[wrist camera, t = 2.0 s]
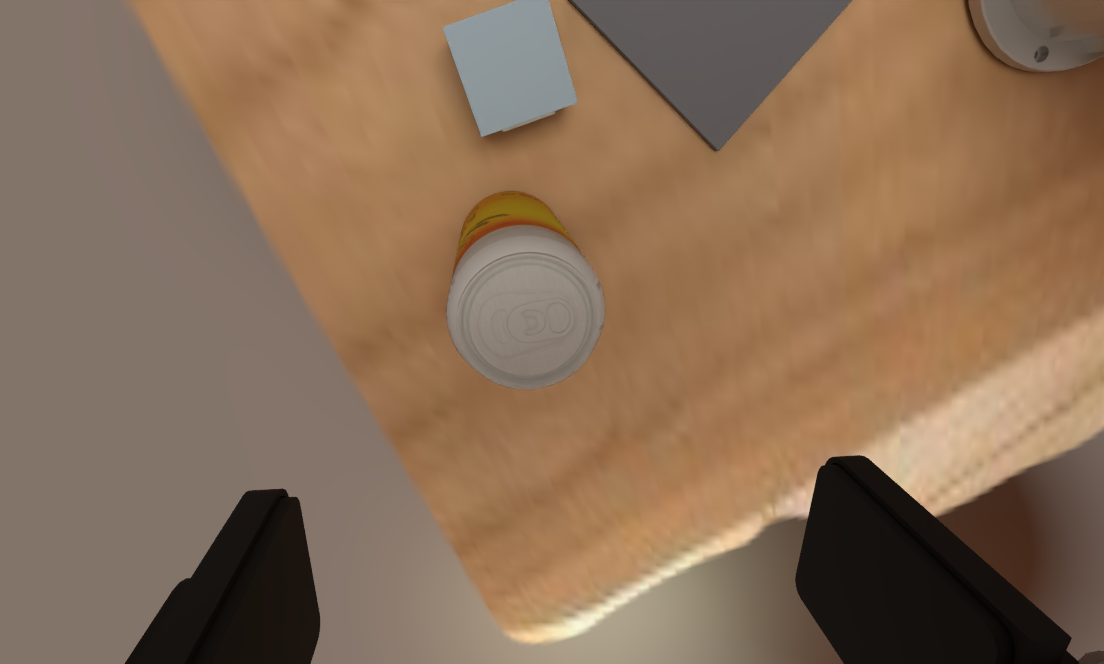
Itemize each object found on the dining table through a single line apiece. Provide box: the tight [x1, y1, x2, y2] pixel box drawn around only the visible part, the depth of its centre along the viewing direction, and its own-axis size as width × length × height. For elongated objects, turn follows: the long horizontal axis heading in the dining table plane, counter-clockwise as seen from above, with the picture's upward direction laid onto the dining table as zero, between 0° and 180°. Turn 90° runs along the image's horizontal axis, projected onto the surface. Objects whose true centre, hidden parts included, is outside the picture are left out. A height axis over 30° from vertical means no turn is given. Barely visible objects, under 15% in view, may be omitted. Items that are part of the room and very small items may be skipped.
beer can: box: [446, 191, 605, 389], centre depth 27 cm, size 6×6×15 cm
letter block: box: [442, 0, 578, 137], centre depth 29 cm, size 5×5×5 cm
